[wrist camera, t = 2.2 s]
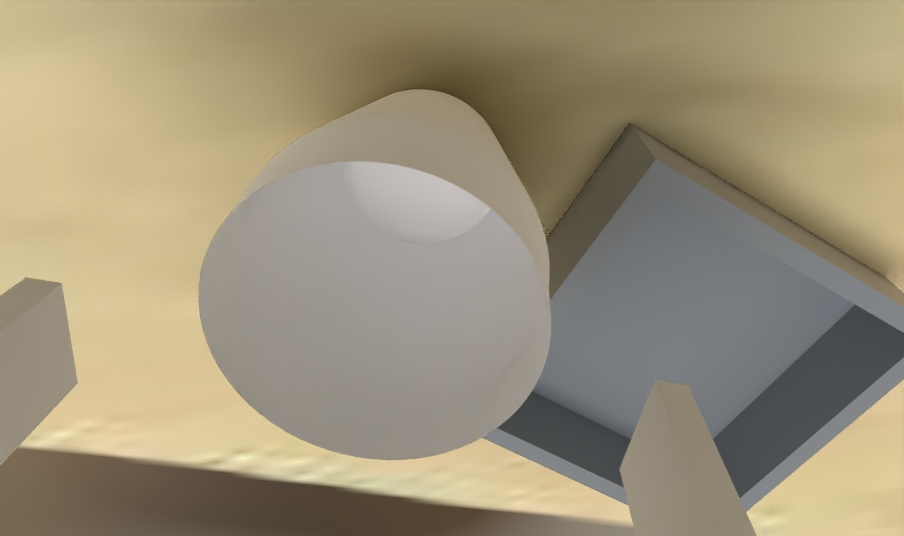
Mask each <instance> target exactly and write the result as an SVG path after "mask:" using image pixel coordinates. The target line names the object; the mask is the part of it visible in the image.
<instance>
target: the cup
mask: <svg viewBox="0 0 904 536" xmlns="http://www.w3.org/2000/svg"><path fill="white" fill-rule="evenodd" d="M198 301H199V311H200V318H201V323H202V328H203V331H204V334H205V338H206V341H207V344H208V346H209V348H210V350H211V353H212V355H213V357H214V359H215V361H216V363H217V364H218V366H219V368H220V370H221V371H222V373H223V374H224V376H225V377H226V378H227V380H228V381H229V383H230V384H231V385H232V386H233V387H234V389H235V390H236V391H237V392H238V394H239V395H240V396H241V397H242V398H243V399H244V400H245V401H246V402H247V403H248V404H249V405H250V406H252V407H253V408H254V409H255V410H256V411H257V412H259V413H260V414H261V415H262V416H264V417H265V418H266V419H268V420H269V421H270V422H272V423H273V424H275V425H276V426H278V427H280V428H281V429H283V430H284V431H286V432H288V433H290V434H292V435H293V436H295V437H297V438H299V439H301V440H304V441H306V442H308V443H311V444H313V445H315V446H318V447H321V448H324V449H327V450H330V451H334V452H337V453H341V454H345V455H350V456H355V457H361V458H369V459H381V460H404V459H416V458H423V457H429V456H434V455H438V454H442V453H446V452H449V451H452V450H455V449H458V448H461V447H463V446H465V445H468V444H470V443H472V442H474V441H476V440H478V439H480V438H482V437H484V436H486V435H487V434H489V433H490V432H492V431H493V430H495V429H496V428H498V427H499V426H500V425H501V424H503V423H504V422H505V421H506V420H508V419H509V418H510V417H511V416H512V415H513V414H514V413H515V412H516V411H517V410H518V409H519V408H520V406H521V405H522V404H523V403H524V401H525V400H526V399H527V398H528V396H529V395H530V393H531V392H532V390H533V389H534V387H535V385H536V383H537V381H538V379H539V377H540V375H541V373H542V370H543V368H544V365H545V362H546V359H547V355H548V351H549V346H550V337H551V310H550V298H549V254H548V247H547V242H546V238H545V234H544V231H543V228H542V225H541V222H540V219H539V216H538V213H537V211H536V209H535V207H534V205H533V203H532V201H531V199H530V197H529V195H528V193H527V191H526V190H525V188H524V186H523V184H522V182H521V181H520V179H519V177H518V175H517V174H516V172H515V170H514V168H513V167H512V165H511V163H510V161H509V160H508V158H507V156H506V154H505V153H504V151H503V149H502V147H501V146H500V144H499V142H498V140H497V139H496V137H495V135H494V133H493V132H492V130H491V128H490V127H489V125H488V124H487V123H486V121H485V120H484V119H483V118H482V117H481V115H480V114H479V113H478V112H476V111H475V110H474V109H473V108H472V107H471V106H469V105H468V104H466V103H465V102H463V101H461V100H460V99H458V98H456V97H454V96H451V95H449V94H446V93H443V92H439V91H434V90H427V89H412V90H405V91H400V92H396V93H393V94H390V95H388V96H386V97H383V98H381V99H379V100H377V101H375V102H372V103H370V104H368V105H366V106H364V107H362V108H359V109H357V110H355V111H353V112H351V113H348V114H346V115H344V116H342V117H340V118H338V119H335V120H333V121H331V122H329V123H327V124H325V125H323V126H321V127H319V128H316V129H315V130H313V131H311V132H309V133H307V134H305V135H303V136H301V137H300V138H298V139H297V140H295V141H294V142H293V143H291V144H290V145H288V146H287V147H285V148H284V149H283V150H281V151H280V152H279V153H278V154H277V155H276V156H274V157H273V158H272V159H271V160H270V161H269V162H268V163H267V164H266V165H265V167H264V168H263V169H262V170H261V171H260V173H259V174H258V175H257V177H256V178H255V179H254V181H253V182H252V184H251V185H250V186H249V188H248V190H247V191H246V193H245V194H244V196H243V197H242V198H241V200H240V201H239V202H238V204H237V205H236V206H235V207H234V209H233V210H232V211H231V213H230V214H229V215H228V216H227V218H226V219H225V221H224V222H223V223H222V225H221V226H220V227H219V229H218V230H217V232H216V234H215V236H214V237H213V239H212V241H211V243H210V245H209V248H208V250H207V253H206V255H205V258H204V261H203V265H202V269H201V274H200V281H199V300H198Z"/></svg>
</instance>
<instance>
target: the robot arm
mask: <svg viewBox="0 0 904 536" xmlns="http://www.w3.org/2000/svg"><path fill="white" fill-rule="evenodd" d="M77 383H78V382H77V376H76V370H75V363H74V357H73V351H72V345H71V339H70V332H69V326H68V320H67V314H66V308H65V301H64V295H63V289H62V283H57V282H51V281H45V280H39V279H33V278H25V279H23V280H22V281H20V282H19V283H18V284H16V285H15V286H13V287H12V288H11V289H9V290H8V291H6V292H5V293H4V294H2V295H1V296H0V465H1V464H2V463H3V462H4V461H5V460H6V459H7V458H8V457H9V455H10V454H11V453H12V452H13V451H14V450H15V449H16V448H17V447H18V446H19V445H20V444H21V443H22V442H23V441H24V440H25V439H26V437H27V436H28V435H29V434H30V433H31V432H32V431H33V430H34V429H35V428H36V427H37V426H38V425H39V424H40V423H41V422H42V420H43V419H44V418H45V417H46V416H47V415H48V414H49V413H50V412H51V411H52V410H53V409H54V408H55V407H56V406H57V405H58V403H59V402H60V401H61V400H62V399H63V398H64V397H65V396H66V395H67V394H68V393H69V392H70V391H71V390H72V389H73V388H74V386H75V385H76V384H77ZM620 473H621V477H622V481H623V485H624V489H625V493H626V497H627V501H628V505H629V509H630V513H631V517H632V521H633V525H634V529H635V534H636V536H756V533H755V531H754V529H753V527H752V525H751V522H750V520H749V518H748V516H747V513H746V511H745V509H744V507H743V505H742V502H741V500H740V498H739V496H738V494H737V491H736V489H735V487H734V485H733V483H732V480H731V478H730V476H729V474H728V472H727V469H726V467H725V465H724V463H723V460H722V458H721V456H720V454H719V452H718V449H717V447H716V445H715V443H714V441H713V438H712V436H711V434H710V432H709V430H708V427H707V425H706V423H705V421H704V419H703V416H702V414H701V412H700V410H699V407H698V405H697V403H696V401H695V399H694V396H693V394H692V392H691V390H690V388H689V385H684V384H678V383H672V382H666V381H660V380H654V383H653V385H652V388H651V390H650V393H649V395H648V398H647V401H646V403H645V406H644V408H643V411H642V413H641V416H640V418H639V421H638V423H637V426H636V428H635V431H634V433H633V436H632V439H631V441H630V444H629V446H628V449H627V451H626V454H625V456H624V459H623V461H622V464H621V466H620Z"/></svg>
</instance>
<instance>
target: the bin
mask: <svg viewBox="0 0 904 536" xmlns="http://www.w3.org/2000/svg"><path fill="white" fill-rule="evenodd" d="M546 242H547V247H548V254H549V298H550V310H551V337H550V346H549V351H548V355H547V359H546V362H545V365H544V368H543V370H542V373H541V375H540V377H539V379H538V381H537V383H536V385H535V387H534V389H533V390H532V392H531V393H530V395H529V396H528V398H527V399H526V400H525V401H524V403H523V404H522V405H521V406H520V408H519V409H518V410H517V411H516V412H515V413H514V414H513V415H512V416H511V417H510V418H509V419H508V420H506V421H505V422H504V423H503V424H501V425H500V426H499V427H498V428H496V429H495V430H493V431H492V432H490V433H489V434H487V435H486V436H484V437H482V438H484V439H486V440H488V441H491V442H493V443H495V444H497V445H499V446H501V447H503V448H506V449H508V450H510V451H512V452H514V453H516V454H519V455H521V456H523V457H525V458H527V459H529V460H532V461H534V462H536V463H538V464H540V465H542V466H544V467H547V468H549V469H551V470H553V471H555V472H557V473H560V474H562V475H564V476H566V477H568V478H570V479H573V480H575V481H577V482H579V483H581V484H583V485H585V486H588V487H590V488H592V489H594V490H596V491H598V492H601V493H603V494H605V495H607V496H609V497H611V498H614V499H616V500H618V501H620V502H622V503H624V504H626V505H628V501H627V497H626V493H625V489H624V485H623V481H622V477H621V473H620V466H621V464H622V461H623V459H624V456H625V454H626V451H627V449H628V446H629V444H630V441H631V439H632V436H633V433H634V431H635V428H636V426H637V423H638V421H639V418H640V416H641V413H642V411H643V408H644V406H645V403H646V401H647V398H648V395H649V393H650V390H651V388H652V385H653V383H654V380H660V381H666V382H672V383H678V384H684V385H689V388H690V390H691V392H692V394H693V396H694V399H695V401H696V403H697V405H698V407H699V410H700V412H701V414H702V416H703V419H704V421H705V423H706V425H707V427H708V430H709V432H710V434H711V436H712V438H713V441H714V443H715V445H716V447H717V449H718V452H719V454H720V456H721V458H722V460H723V463H724V465H725V467H726V469H727V472H728V474H729V476H730V478H731V480H732V483H733V485H734V487H735V489H736V491H737V494H738V496H739V498H740V500H741V502H742V505H743V507H744V509H745V511H746V512H747V511H748V510H749V509H750V508H751V507H752V506H754V505H755V504H756V503H757V502H758V501H760V500H761V499H762V498H763V497H764V496H766V495H767V494H768V493H769V492H770V491H771V490H773V489H774V488H775V487H776V486H777V485H779V484H780V483H781V482H782V481H783V480H785V479H786V478H787V477H788V476H789V475H791V474H792V473H793V472H794V471H795V470H796V469H798V468H799V467H800V466H801V465H802V464H804V463H805V462H806V461H807V460H808V459H810V458H811V457H812V456H813V455H814V454H815V453H817V452H818V451H819V450H820V449H821V448H823V447H824V446H825V445H826V444H827V443H829V442H830V441H831V440H832V439H833V438H835V437H836V436H837V435H838V434H839V433H840V432H842V431H843V430H844V429H845V428H846V427H848V426H849V425H850V424H851V423H852V422H854V421H855V420H856V419H857V418H858V417H859V416H861V415H862V414H863V413H864V412H865V411H867V410H868V409H869V408H870V407H871V406H873V405H874V404H875V403H876V402H877V401H878V400H880V399H881V398H882V397H883V396H884V395H886V394H887V393H888V392H889V391H890V390H892V389H893V388H894V387H895V386H896V385H898V384H899V383H900V382H901V381H902V380H903V379H904V293H903V292H902V291H901V290H899V289H898V288H897V287H896V286H895V285H894V284H892V283H891V282H890V281H889V280H888V279H887V278H885V277H884V276H882V275H880V274H879V273H877V272H875V271H874V270H872V269H870V268H869V267H867V266H866V265H864V264H862V263H861V262H859V261H857V260H856V259H854V258H852V257H851V256H849V255H847V254H846V253H844V252H842V251H841V250H839V249H837V248H836V247H834V246H832V245H831V244H829V243H827V242H826V241H824V240H822V239H821V238H819V237H817V236H816V235H814V234H812V233H811V232H809V231H808V230H806V229H804V228H803V227H801V226H799V225H798V224H796V223H794V222H793V221H791V220H789V219H788V218H786V217H784V216H783V215H781V214H779V213H778V212H776V211H774V210H773V209H771V208H769V207H768V206H766V205H764V204H763V203H761V202H759V201H758V200H756V199H754V198H753V197H751V196H750V195H748V194H746V193H745V192H743V191H741V190H740V189H738V188H736V187H735V186H733V185H731V184H730V183H728V182H726V181H725V180H723V179H721V178H720V177H718V176H716V175H715V174H713V173H711V172H710V171H708V170H706V169H705V168H703V167H701V166H700V165H698V164H696V163H695V162H693V161H692V160H690V159H688V158H687V157H685V156H683V155H682V154H680V153H678V152H677V151H675V150H673V149H672V148H670V147H668V146H667V145H665V144H663V143H662V142H660V141H658V140H657V139H655V138H653V137H652V136H650V135H648V134H647V133H645V132H643V131H642V130H640V129H638V128H637V127H635V126H634V125H632V124H630V123H629V125H628V126H627V127H626V129H625V130H624V132H623V133H622V134H621V136H620V137H619V139H618V140H617V141H616V143H615V144H614V146H613V147H612V149H611V150H610V151H609V153H608V154H607V156H606V157H605V158H604V160H603V161H602V163H601V164H600V165H599V167H598V168H597V170H596V171H595V172H594V174H593V175H592V177H591V178H590V180H589V181H588V182H587V184H586V185H585V187H584V188H583V189H582V191H581V192H580V194H579V195H578V196H577V198H576V199H575V201H574V202H573V203H572V205H571V206H570V208H569V209H568V211H567V212H566V213H565V215H564V216H563V218H562V219H561V220H560V222H559V223H558V225H557V226H556V227H555V229H554V230H553V232H552V233H551V234H550V236H549V237H548V239H547V240H546Z"/></svg>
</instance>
